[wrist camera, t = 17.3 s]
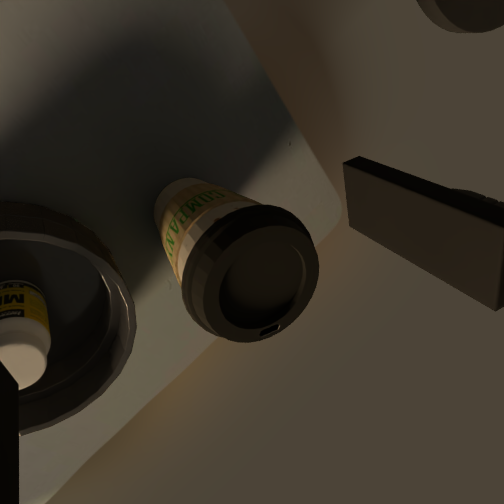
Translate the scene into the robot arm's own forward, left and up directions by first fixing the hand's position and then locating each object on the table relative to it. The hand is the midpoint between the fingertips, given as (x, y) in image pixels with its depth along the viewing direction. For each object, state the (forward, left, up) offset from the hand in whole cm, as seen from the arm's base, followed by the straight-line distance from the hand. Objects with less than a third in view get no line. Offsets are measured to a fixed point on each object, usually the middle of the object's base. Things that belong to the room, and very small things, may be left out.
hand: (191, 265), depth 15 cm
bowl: (+11, +10, -23) cm, 28 cm away
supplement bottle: (+11, +11, -23) cm, 27 cm away
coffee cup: (-6, +9, -23) cm, 26 cm away
